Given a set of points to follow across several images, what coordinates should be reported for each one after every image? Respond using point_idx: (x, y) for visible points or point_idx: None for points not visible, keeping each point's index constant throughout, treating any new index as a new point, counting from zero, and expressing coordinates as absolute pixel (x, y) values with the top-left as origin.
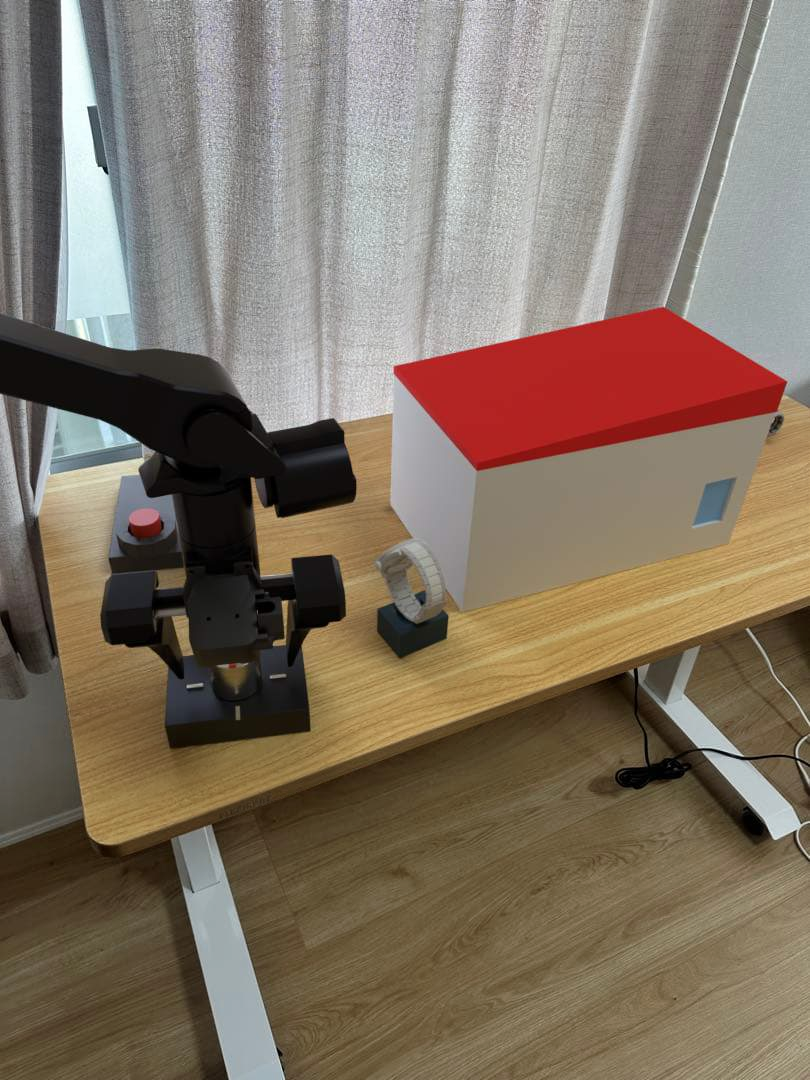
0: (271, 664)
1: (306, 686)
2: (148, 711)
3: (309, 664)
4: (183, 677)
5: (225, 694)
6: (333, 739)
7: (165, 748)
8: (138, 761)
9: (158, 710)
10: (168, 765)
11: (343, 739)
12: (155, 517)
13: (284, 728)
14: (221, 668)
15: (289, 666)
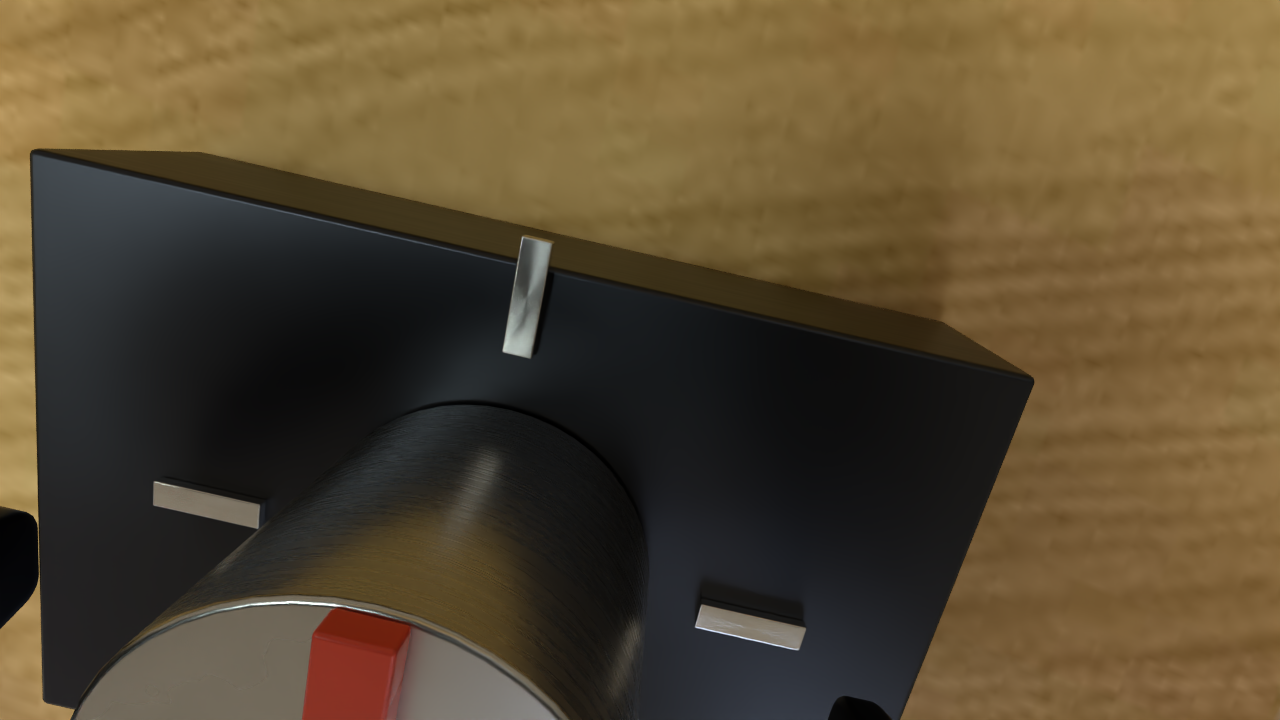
0: None
1: (35, 356)
2: (970, 593)
3: None
4: (847, 707)
5: (571, 464)
6: (83, 45)
7: None
8: (1120, 306)
9: None
10: (984, 218)
11: (28, 23)
12: None
13: (313, 186)
14: (504, 656)
15: (10, 511)
